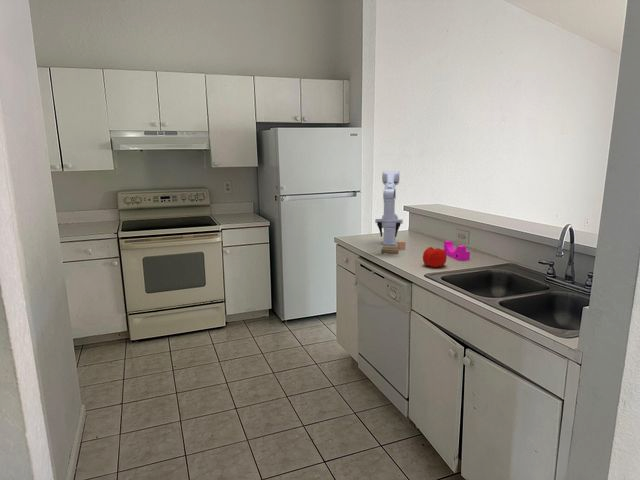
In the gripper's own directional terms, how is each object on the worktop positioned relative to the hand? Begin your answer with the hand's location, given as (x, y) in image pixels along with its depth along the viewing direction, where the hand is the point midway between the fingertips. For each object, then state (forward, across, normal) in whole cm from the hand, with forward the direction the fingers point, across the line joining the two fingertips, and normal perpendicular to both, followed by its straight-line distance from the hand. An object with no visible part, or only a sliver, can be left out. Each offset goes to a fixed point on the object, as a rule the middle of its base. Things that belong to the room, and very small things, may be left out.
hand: (388, 236), depth 242 cm
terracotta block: (+11, +7, +15) cm, 20 cm away
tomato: (+11, +23, -19) cm, 32 cm away
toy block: (+11, +36, +2) cm, 38 cm away
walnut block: (+11, +1, +7) cm, 13 cm away
